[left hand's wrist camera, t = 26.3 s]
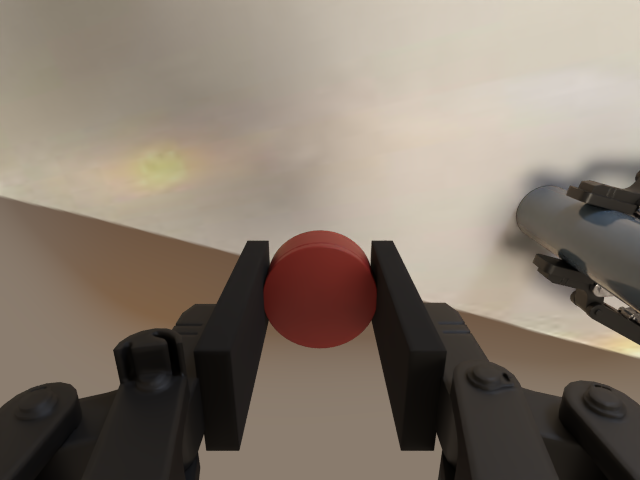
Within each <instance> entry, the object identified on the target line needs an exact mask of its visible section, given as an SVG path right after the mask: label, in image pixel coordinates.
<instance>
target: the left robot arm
mask: <svg viewBox="0 0 640 480" xmlns="http://www.w3.org/2000/svg"><path fill="white" fill-rule="evenodd" d="M269 267H270V261H269V241H247V243H246V245H245V247H244V249H243V251H242V253H241V255H240V257H239V259H238V261H237V263H236V265H235V267H234V269H233V272H232V274H231V276H230V278H229V280H228V282H227V284H226V286H225V288H224V290H223V292H222V294H221V296H220V298H219V300H218V302H217V304H195V305H193V306H192V307H190V308H189V309H188V310H186V311H185V312H183V313H182V315H181V316H180V318H179V320H178V321H177V323H176V326H174V327H173V329H172V330H170V329H159V328H155V329H150V330H145V331H141V332H138V333H135V334H133V335H130V336H129V337H127V338H125V339H124V340H122V341H121V342H119V344H118V345H117V346H116V347H115V348H114V350H113V351H114V356H115V361H116V365H117V370H118V375H119V379H120V386H119V389H118V390H115V391H111V392H108V393H104V394H99V395H94V396H90V397H86V398H81V399H78V395H77V391H76V389H75V388H74V387H73V386H72V385H71V384H66V383H62V382H57V383H47V384H43V385H40V386H36V387H33V388H30V389H28V390H26V391H24V392H22V393H20V394H18V395H16V396H15V397H14V398H12V399H11V400H10V401H8V402H7V403H6V404H4V405H3V406H2V407H1V408H0V480H199V474H200V463H199V456H198V450H199V447H200V444H201V441H202V438H203V435H204V436H205V444H206V450H207V451H239V449H240V445H241V441H242V436H243V432H244V427H245V423H246V418H247V414H248V410H249V405H250V401H251V396H252V392H253V388H254V383H255V379H256V374H257V370H258V365H259V361H260V357H261V352H262V348H263V343H264V339H265V334H266V330H267V326H268V321H269V319H268V318H267V315H266V313H265V310H264V293H263V288H264V284H265V280H266V277H267V273H268V270H269ZM371 270H372V273H373V276H374V280H375V283H376V287H377V299H376V311H375V314H374V316H373V318H372V324H373V329H374V333H375V338H376V342H377V347H378V351H379V355H380V360H381V364H382V369H383V373H384V377H385V382H386V386H387V391H388V395H389V400H390V404H391V408H392V413H393V417H394V422H395V426H396V431H397V435H398V439H399V444H400V448H401V450H402V451H434V446H435V438H436V432H437V435H438V438H439V441H440V444H441V447H442V456H441V463H440V470H439V477H438V480H640V405H639V404H638V403H637V402H635V401H634V400H632V399H631V398H630V397H628V396H627V395H626V394H624V393H622V392H620V391H618V390H616V389H614V388H612V387H610V386H607V385H604V384H601V383H597V382H591V381H576V382H571V383H569V384H568V385H567V386H566V387H565V388H564V392H563V396H562V397H558V396H554V395H549V394H544V393H540V392H535V391H532V390H528V389H525V388H522V387H521V385H520V383H519V382H518V380H517V379H516V377H515V376H514V375H513V374H512V373H510V372H509V371H508V370H507V369H505V368H504V367H501V366H499V365H497V364H495V363H492V362H489V360H488V359H487V357H486V355H485V354H484V352H483V351H482V349H481V348H480V346H479V344H478V343H477V341H476V340H475V338H474V336H473V335H472V334H470V330H469V329H468V327H467V325H465V322H464V321H463V319H462V318H461V316H460V314H459V313H458V312H457V311H456V310H455V309H453V308H452V307H450V306H449V305H448V304H446V303H423V301H422V299H421V297H420V295H419V293H418V291H417V289H416V287H415V285H414V283H413V281H412V279H411V277H410V275H409V273H408V271H407V269H406V267H405V265H404V263H403V261H402V259H401V257H400V255H399V253H398V251H397V249H396V247H395V245H394V243H393V241H372V245H371Z"/></svg>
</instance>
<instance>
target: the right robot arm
mask: <svg viewBox="0 0 640 480" xmlns="http://www.w3.org/2000/svg"><path fill="white" fill-rule="evenodd" d="M635 180H636V182H635V183H634V184H633V185H632V186H630V187H628V188H626V189H620V188H616V187H612V186H609V185H605V184H601V183H597V182H594V181H590V180H589V181H582V182H581V184H580V186H579V188H577V187H573V186H570V187H569V189H568V191H567V193H566V196H569V197H571V198H574V199H576V200H578V201H581V202H584V203H588V204H591V205H595V206H599V207H603V208H606V209H610V210H614V211H619V212H622V213H625V214H629V215H630V216H632V217H635V218H637V219H640V171H639V172H638V173H637V174H636V177H635ZM533 263H534V264H535V265H536V266H537V267H539V268H538V270H537V271H539V272H540V273H541V274H542V275H543V276H545V277H546V278H547V279H548V280H550V281H551V282H552V283H556V284H560V285H565V286H568V287H572V288H576V291H574V292H573V293H572V294H571V296H570V299H571V301H572V302H573V303H574V304H575V305H577V306H579V307H580V308H581V309H582V310H584V311H585V312H586V313H587V315H588V316H590V317H591V318H592V319H594V320H596V321H598V322H599V323H601V324H603V325H605V326H607V327H608V328H610V329H612V330H614V331H616V332H617V333H619V334H621V335H623V336H625V337H626V338H628V339H630V340H632V341H634V342H635V343H637V344H639V345H640V313H638V312H637V311H635V310H634V309H632V308H631V307H628V308H624V307H620V308H619V309H618V310H617V309H615V308H613V307H611V306H610V305H608V304H606V303H604V302H603V301H604V297H607V296H614V295H612V294H611V293H609V292H608V291H607V290H605V289H604V288H602V287H601V286H599V285H598V284H596V283H595V282H594V281H592V280H591V279H589V278H588V277H586V276H585V275H584V274H582V273H581V272H579V271H578V270H576V269H575V268H573V267H572V266H571V265H569V264H568V263H566V262H565V261H563V260H562V259H558V258H554V257H549V256H545V255H541V254H536V257H535V259H534V261H533Z"/></svg>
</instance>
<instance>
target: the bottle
mask: <svg viewBox="0 0 640 480" xmlns="http://www.w3.org/2000/svg"><path fill="white" fill-rule="evenodd" d="M566 193H567V190H565V189H562V188H560V187H557V186H543V187H540V188H537V189H535V190H533V191H531V192H530V193H529V194H528V195H526V196H525V198H524V199H523V200H522V201H521V203H520V205H519V207H518V210H517V223H518V226H519V228H520V229H521V231H522V232H523V233H524V234H526V235H527V236H529V237H530V238H532V239H533V240H535V241H536V242H537V243H539V244H540V245H542V246H543V247H545V248H546V249H547V250H549V251H550V252H552V253H553V254H555V255H556V256H558V257H559V258H560V259H562V260H563V261H565V262H566V263H568V264H569V265H571V266H572V267H573V268H575V269H576V270H578V271H579V272H581V273H582V274H584V275H585V276H586V277H588V278H589V279H591V280H592V281H594V282H595V283H596V284H598V285H599V286H601V287H602V288H604V289H605V290H607V291H608V292H609V293H611V294H612V295H614V296H615V297H617V298H618V299H620V300H621V301H622V302H624V303H625V304H627V305H628V306H630V307H631V308H632V309H634V310H635V311H637V312H638V313H640V219H637V218H635V217H632V216H630V215H627V214H625V213H622V212H619V211H614V210H610V209H606V208H603V207H599V206H595V205H591V204H588V203H584V202H581V201H578V200H576V199H574V198H571V197H569V196H566Z"/></svg>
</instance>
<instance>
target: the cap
mask: <svg viewBox="0 0 640 480" xmlns="http://www.w3.org/2000/svg"><path fill="white" fill-rule="evenodd" d="M263 293H264V310H265V313H266V315H267V318H268V319H269V321H270V323H271V324H272V326H273V327H274V328H275V329H276V330H277V331H278V332H279V333H280V334H281V335H282V336H284V337H285V338H286V339H288V340H290V341H292V342H294V343H296V344H298V345H302V346H305V347H311V348H330V347H335V346H338V345H342V344H344V343H347V342H349V341H350V340H352V339H354V338H355V337H357V336H358V335H359V334H360V333H362V332H363V331H364V330H365V328H366V327H367V326H368V325H369V323H370V321H371V320H372V318H373V316H374V314H375V311H376V299H377V287H376V283H375V280H374V276H373V273H372V270H371V266H370V263H369V261H368V258H367V256H366V255H365V253H364V252H363V250H362V249H361V248H360V247H359V246H358V245H357V244H356V243H355V242H354V241H352V240H351V239H349V238H347V237H345V236H343V235H341V234H338V233H335V232H330V231H322V230H320V231H310V232H305V233H302V234H299V235H297V236H295V237H293V238H291V239H290V240H288V241H287V242H286V243H284V244H283V245H282V246H281V247H280V248H279V249H278V251H277V252H276V253H275V255H274V257H273V259H272V261H271V264H270V267H269V270H268V273H267V277H266V280H265V284H264V288H263Z"/></svg>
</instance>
